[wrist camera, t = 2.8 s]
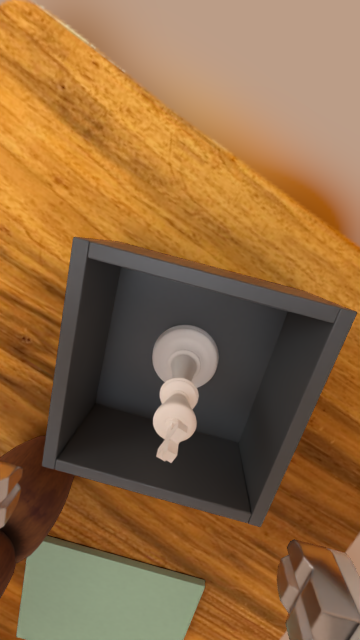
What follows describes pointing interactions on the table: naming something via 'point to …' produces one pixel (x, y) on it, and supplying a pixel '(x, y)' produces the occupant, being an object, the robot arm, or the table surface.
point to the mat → (102, 596)
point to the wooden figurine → (31, 506)
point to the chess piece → (181, 382)
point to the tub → (214, 396)
